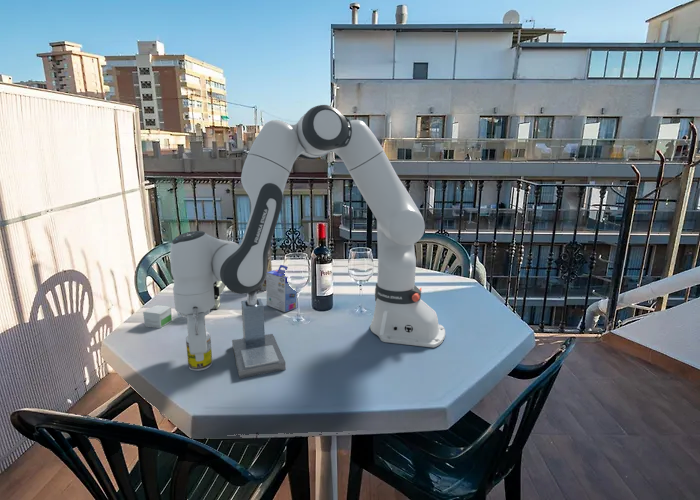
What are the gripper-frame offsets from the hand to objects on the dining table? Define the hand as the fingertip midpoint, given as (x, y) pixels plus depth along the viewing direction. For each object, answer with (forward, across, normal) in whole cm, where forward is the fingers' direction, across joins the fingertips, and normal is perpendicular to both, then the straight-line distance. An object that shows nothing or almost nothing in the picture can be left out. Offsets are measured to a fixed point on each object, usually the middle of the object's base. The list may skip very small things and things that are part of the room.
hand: (199, 352), depth 93 cm
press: (+4, -1, -14) cm, 14 cm away
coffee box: (+4, +52, -24) cm, 58 cm away
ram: (-3, +4, -14) cm, 15 cm away
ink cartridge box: (+4, +30, -27) cm, 40 cm away
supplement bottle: (+4, 0, 0) cm, 4 cm away
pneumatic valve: (+4, +37, -6) cm, 37 cm away
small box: (+4, +30, +11) cm, 32 cm away
